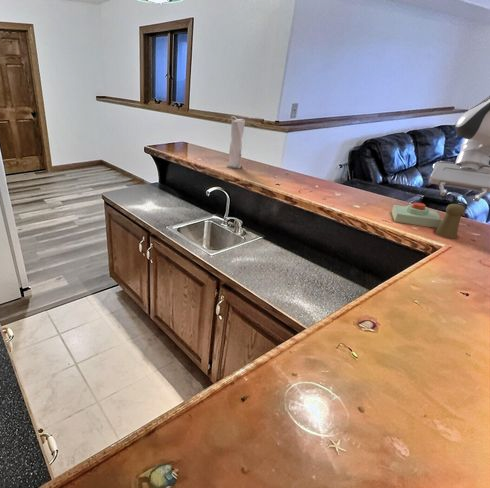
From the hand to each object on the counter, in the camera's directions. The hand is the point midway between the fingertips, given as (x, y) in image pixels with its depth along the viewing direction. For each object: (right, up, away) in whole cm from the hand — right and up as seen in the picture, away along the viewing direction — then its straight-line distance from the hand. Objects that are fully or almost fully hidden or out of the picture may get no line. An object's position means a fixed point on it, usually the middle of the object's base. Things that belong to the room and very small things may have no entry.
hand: (459, 197), depth 122 cm
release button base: (-7, -7, +12) cm, 16 cm away
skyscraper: (-63, +29, +83) cm, 108 cm away
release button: (-7, -3, +10) cm, 13 cm away
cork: (-4, -13, 0) cm, 14 cm away
